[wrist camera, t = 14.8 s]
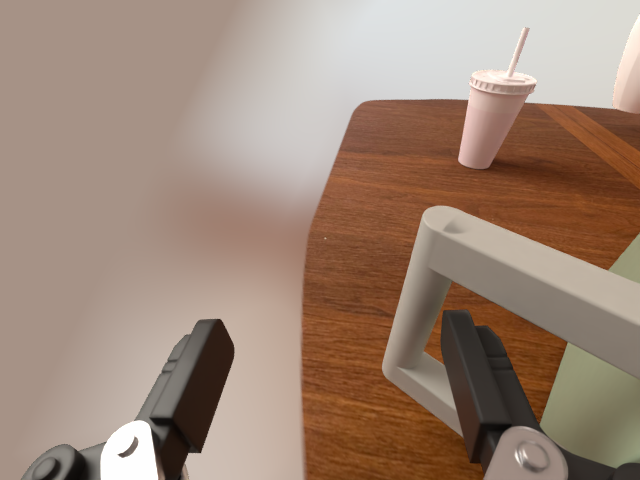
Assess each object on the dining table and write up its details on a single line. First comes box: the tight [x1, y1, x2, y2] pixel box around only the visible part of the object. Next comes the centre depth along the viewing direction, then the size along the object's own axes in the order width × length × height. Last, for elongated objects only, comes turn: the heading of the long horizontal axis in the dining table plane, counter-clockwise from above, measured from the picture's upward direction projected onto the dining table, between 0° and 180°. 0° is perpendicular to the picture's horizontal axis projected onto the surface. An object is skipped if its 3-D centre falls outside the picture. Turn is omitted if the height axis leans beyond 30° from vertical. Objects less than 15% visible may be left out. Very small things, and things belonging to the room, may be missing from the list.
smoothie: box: [458, 28, 537, 169], centre depth 35 cm, size 6×6×14 cm
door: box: [382, 206, 640, 469], centre depth 15 cm, size 8×16×14 cm, turn 138°
